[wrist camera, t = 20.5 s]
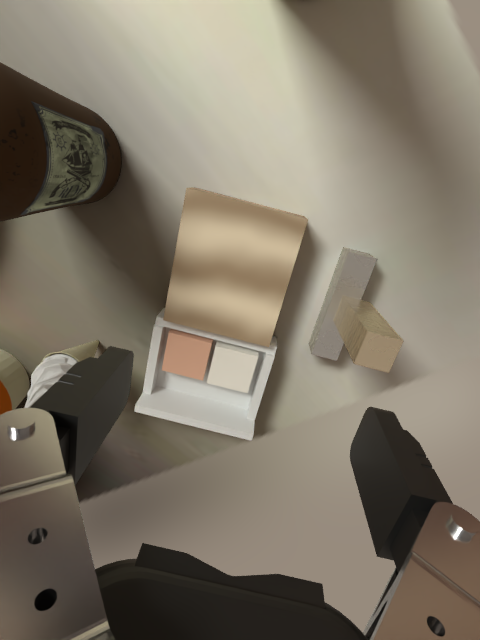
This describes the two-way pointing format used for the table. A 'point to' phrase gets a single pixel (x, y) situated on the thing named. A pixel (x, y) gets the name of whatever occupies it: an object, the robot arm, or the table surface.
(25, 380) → the reusable coffee cup
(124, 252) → the table surface
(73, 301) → the table surface
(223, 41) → the table surface
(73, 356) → the ice cream cone
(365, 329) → the scraper
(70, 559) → the robot arm
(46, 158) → the brown rum bottle
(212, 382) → the offwhite tile
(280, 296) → the tan flat block
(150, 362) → the box
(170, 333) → the terracotta tile
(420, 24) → the table surface
